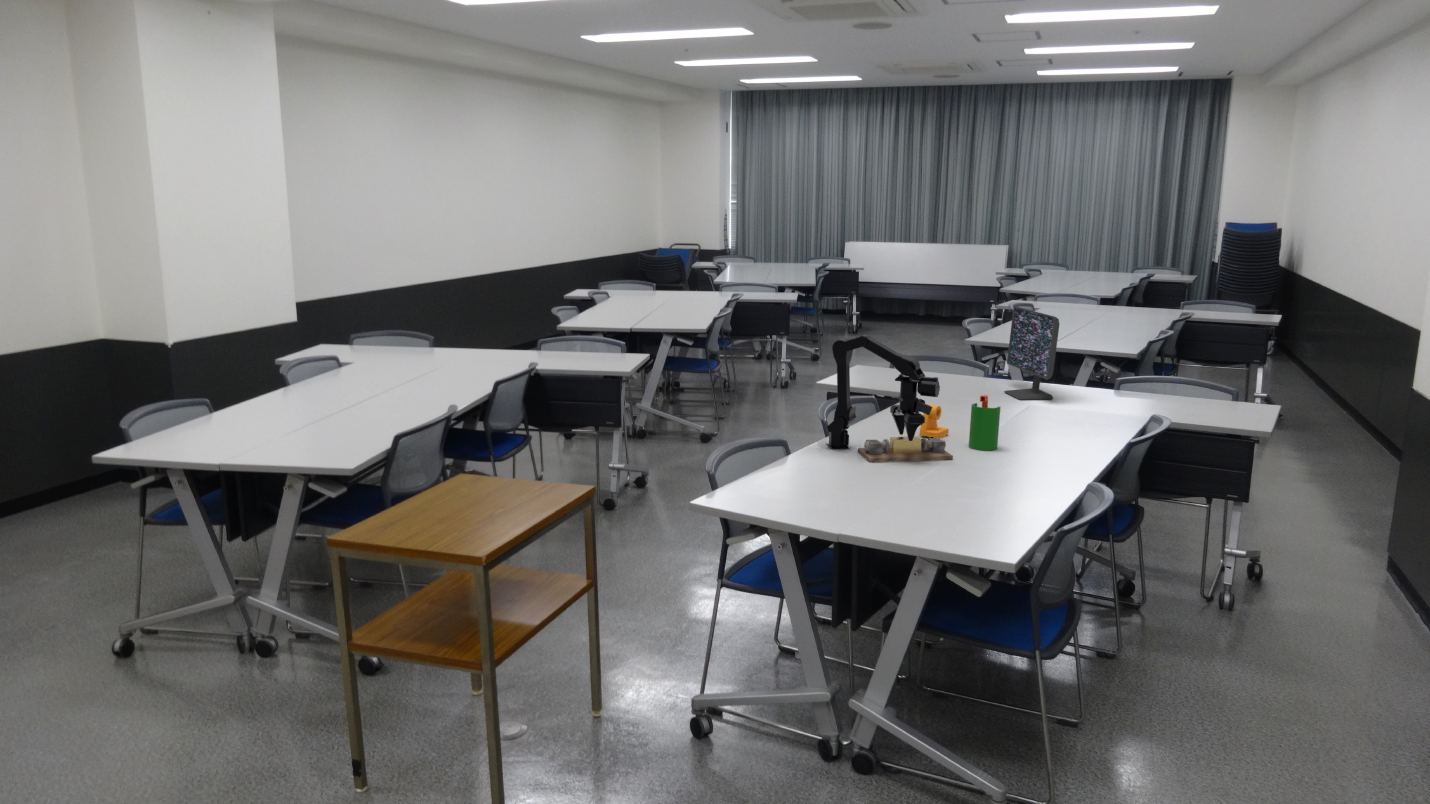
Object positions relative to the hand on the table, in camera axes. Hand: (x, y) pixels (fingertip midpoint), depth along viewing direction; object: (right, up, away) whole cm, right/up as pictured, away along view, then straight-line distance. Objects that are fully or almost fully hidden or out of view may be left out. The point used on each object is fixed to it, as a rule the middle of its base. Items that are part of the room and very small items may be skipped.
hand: (905, 437), depth 334 cm
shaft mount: (0, -6, +1) cm, 7 cm away
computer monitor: (+79, +15, +109) cm, 136 cm away
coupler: (0, -5, +1) cm, 5 cm away
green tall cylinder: (+31, -4, +14) cm, 35 cm away
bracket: (+17, -1, +31) cm, 36 cm away
